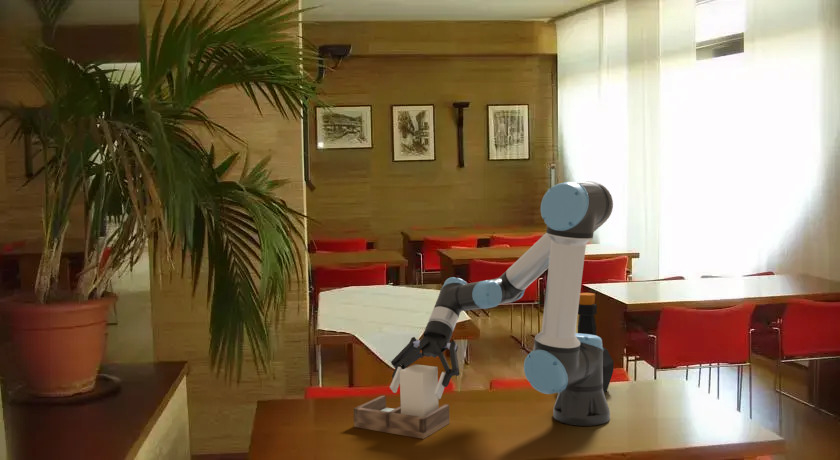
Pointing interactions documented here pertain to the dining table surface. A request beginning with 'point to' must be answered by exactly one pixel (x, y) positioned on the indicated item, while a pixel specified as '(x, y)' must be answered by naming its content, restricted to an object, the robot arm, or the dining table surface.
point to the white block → (418, 390)
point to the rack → (399, 419)
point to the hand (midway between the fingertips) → (414, 393)
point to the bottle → (593, 332)
